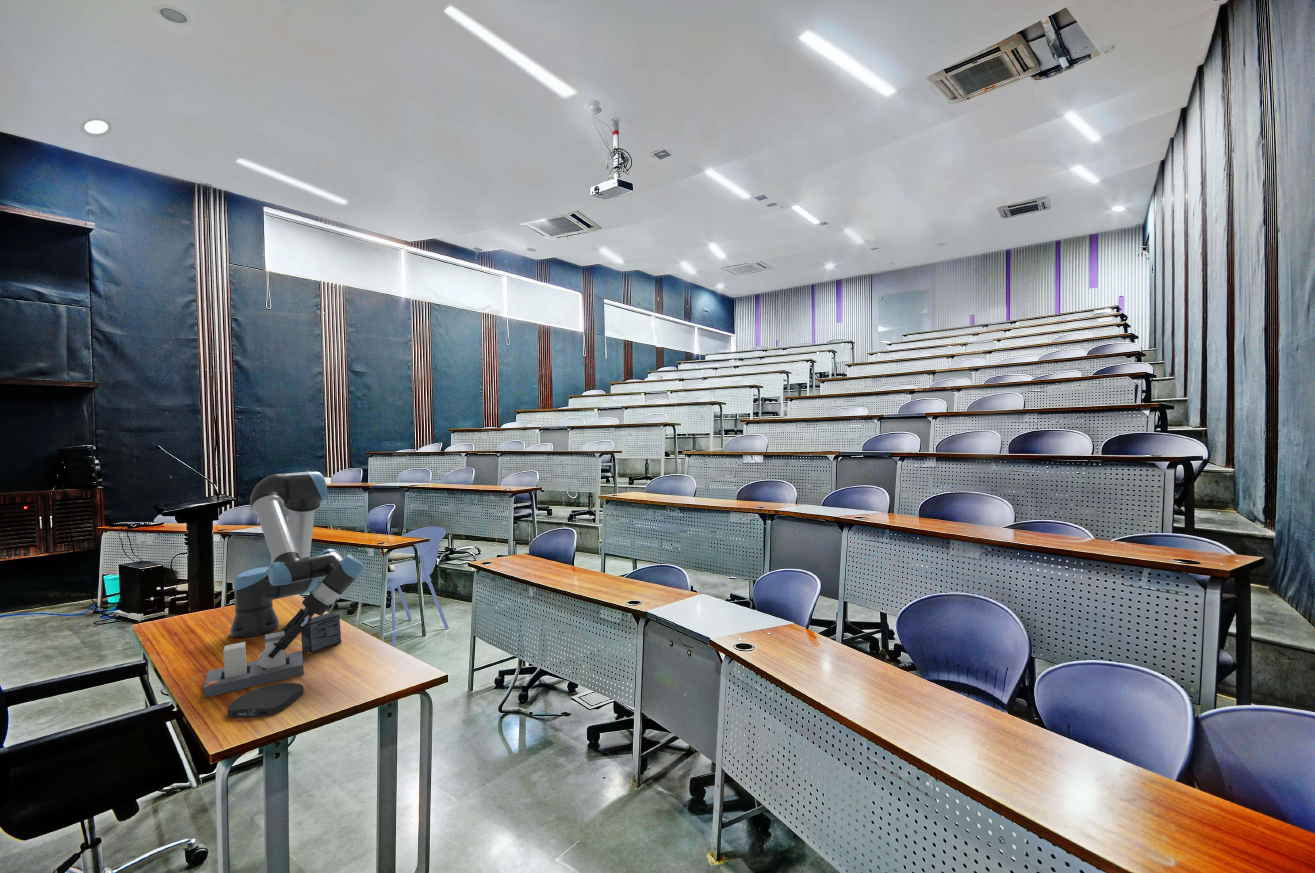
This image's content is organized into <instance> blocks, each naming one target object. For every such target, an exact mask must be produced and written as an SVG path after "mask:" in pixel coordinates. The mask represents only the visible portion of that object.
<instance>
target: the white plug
mask: <svg viewBox="0 0 1315 873" xmlns="http://www.w3.org/2000/svg"><path fill="white" fill-rule="evenodd" d="M284 635H285V632H284V631H282V632H280V631H278V632H272V633H268V634H267V633H266V634H265V635H264V646H265V648H264V650H265V653H267V652H268V651H269V650H270V649H271V648H272V647H273V646H274V645H273V644H274V643H278V642H279V640H280V639H281V638H282V637H283V636H284ZM286 654H287V653H286V649H285V650H282V651H281V652H280V653H279V654H278V655H277V656H276V657H275V658H274V659H273V660H272V661H271V662H270V664H269V665H268V666H267V667H266V669H270V668H274V667H279V666H283V665H286Z"/></svg>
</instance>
